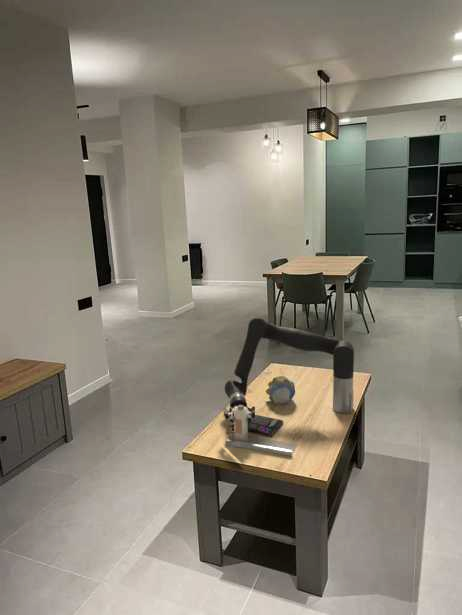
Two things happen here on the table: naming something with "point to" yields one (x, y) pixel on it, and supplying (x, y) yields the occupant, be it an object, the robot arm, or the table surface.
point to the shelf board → (269, 443)
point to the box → (263, 425)
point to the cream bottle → (240, 423)
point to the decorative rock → (281, 390)
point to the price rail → (258, 447)
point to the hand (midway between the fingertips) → (240, 420)
